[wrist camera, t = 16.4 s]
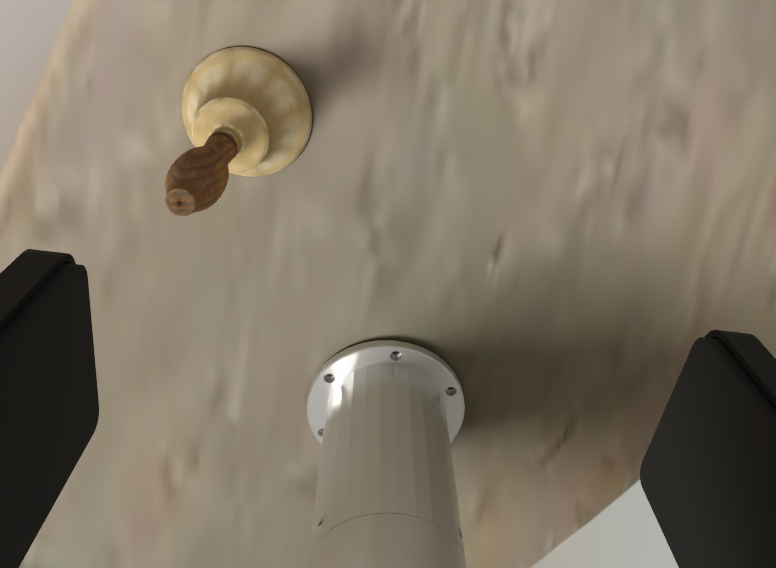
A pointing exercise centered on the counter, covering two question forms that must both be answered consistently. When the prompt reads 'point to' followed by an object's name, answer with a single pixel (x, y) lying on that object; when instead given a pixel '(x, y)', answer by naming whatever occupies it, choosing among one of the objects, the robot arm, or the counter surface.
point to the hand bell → (236, 125)
